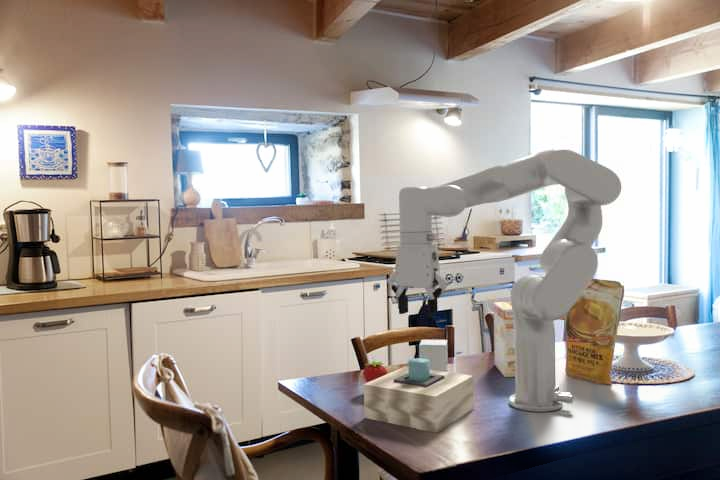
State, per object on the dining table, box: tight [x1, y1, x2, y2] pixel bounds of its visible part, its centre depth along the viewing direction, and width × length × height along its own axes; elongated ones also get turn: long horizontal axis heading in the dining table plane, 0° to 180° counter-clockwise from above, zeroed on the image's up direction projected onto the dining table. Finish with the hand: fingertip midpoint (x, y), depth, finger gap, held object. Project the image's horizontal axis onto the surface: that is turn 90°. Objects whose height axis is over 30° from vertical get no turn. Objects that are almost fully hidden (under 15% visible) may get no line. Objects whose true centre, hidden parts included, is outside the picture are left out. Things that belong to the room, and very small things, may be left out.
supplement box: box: [418, 339, 449, 372], centre depth 168 cm, size 7×7×13 cm
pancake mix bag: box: [564, 277, 625, 386], centre depth 173 cm, size 7×19×28 cm, turn 27°
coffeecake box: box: [493, 301, 515, 378], centre depth 184 cm, size 15×7×20 cm, turn 179°
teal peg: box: [407, 357, 430, 382], centre depth 148 cm, size 5×5×7 cm
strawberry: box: [363, 356, 388, 383], centre depth 165 cm, size 6×8×10 cm
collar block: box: [363, 365, 475, 433], centre depth 148 cm, size 19×19×9 cm
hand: (417, 313), depth 147 cm, fingers open, 7 cm apart
